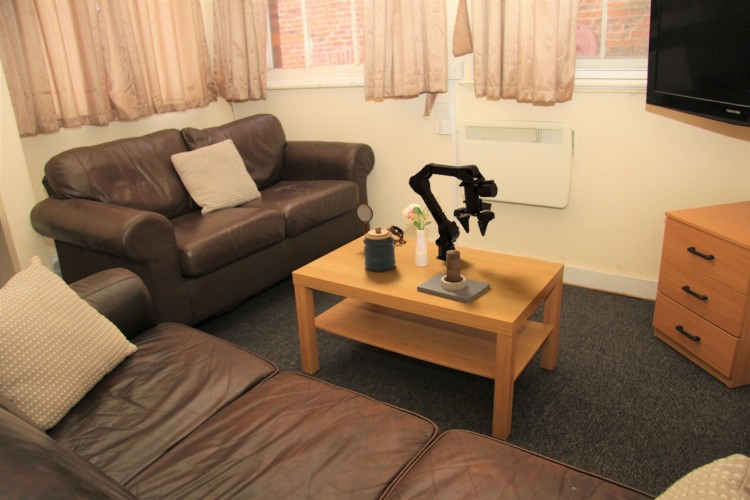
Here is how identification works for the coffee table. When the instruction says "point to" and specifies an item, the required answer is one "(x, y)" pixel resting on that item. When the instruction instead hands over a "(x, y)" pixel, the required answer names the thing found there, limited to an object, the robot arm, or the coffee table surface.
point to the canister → (379, 250)
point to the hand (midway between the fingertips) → (475, 234)
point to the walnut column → (453, 266)
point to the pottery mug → (398, 234)
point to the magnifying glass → (364, 214)
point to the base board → (454, 294)
